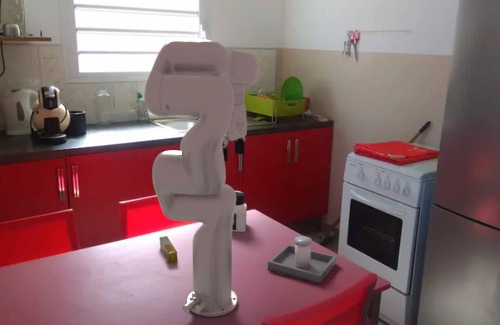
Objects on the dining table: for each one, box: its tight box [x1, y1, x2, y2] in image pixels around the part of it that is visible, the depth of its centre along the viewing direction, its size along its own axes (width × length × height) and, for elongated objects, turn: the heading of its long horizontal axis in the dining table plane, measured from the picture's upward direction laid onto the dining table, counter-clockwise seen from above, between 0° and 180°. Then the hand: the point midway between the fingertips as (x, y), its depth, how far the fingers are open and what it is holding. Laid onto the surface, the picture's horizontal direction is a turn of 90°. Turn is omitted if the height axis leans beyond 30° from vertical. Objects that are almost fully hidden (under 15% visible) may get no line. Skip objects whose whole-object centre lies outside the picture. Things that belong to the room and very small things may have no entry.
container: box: [232, 190, 248, 233], centre depth 158 cm, size 8×8×13 cm
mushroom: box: [294, 235, 313, 269], centre depth 131 cm, size 5×5×8 cm
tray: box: [267, 244, 338, 285], centre depth 132 cm, size 14×16×2 cm
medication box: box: [159, 235, 179, 265], centre depth 138 cm, size 12×3×4 cm, turn 25°
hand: (231, 157), depth 135 cm, fingers open, 9 cm apart
